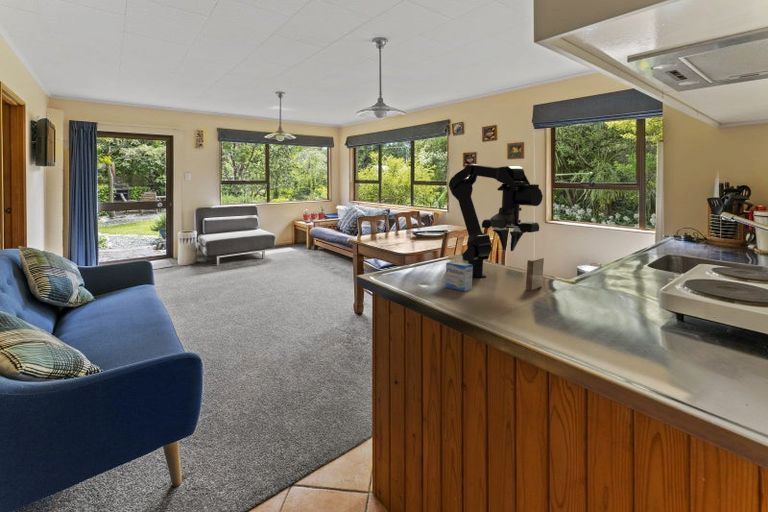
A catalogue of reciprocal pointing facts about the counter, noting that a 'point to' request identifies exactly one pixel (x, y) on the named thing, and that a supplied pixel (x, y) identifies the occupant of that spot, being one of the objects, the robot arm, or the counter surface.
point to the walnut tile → (534, 273)
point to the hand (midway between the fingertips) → (508, 250)
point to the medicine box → (458, 276)
